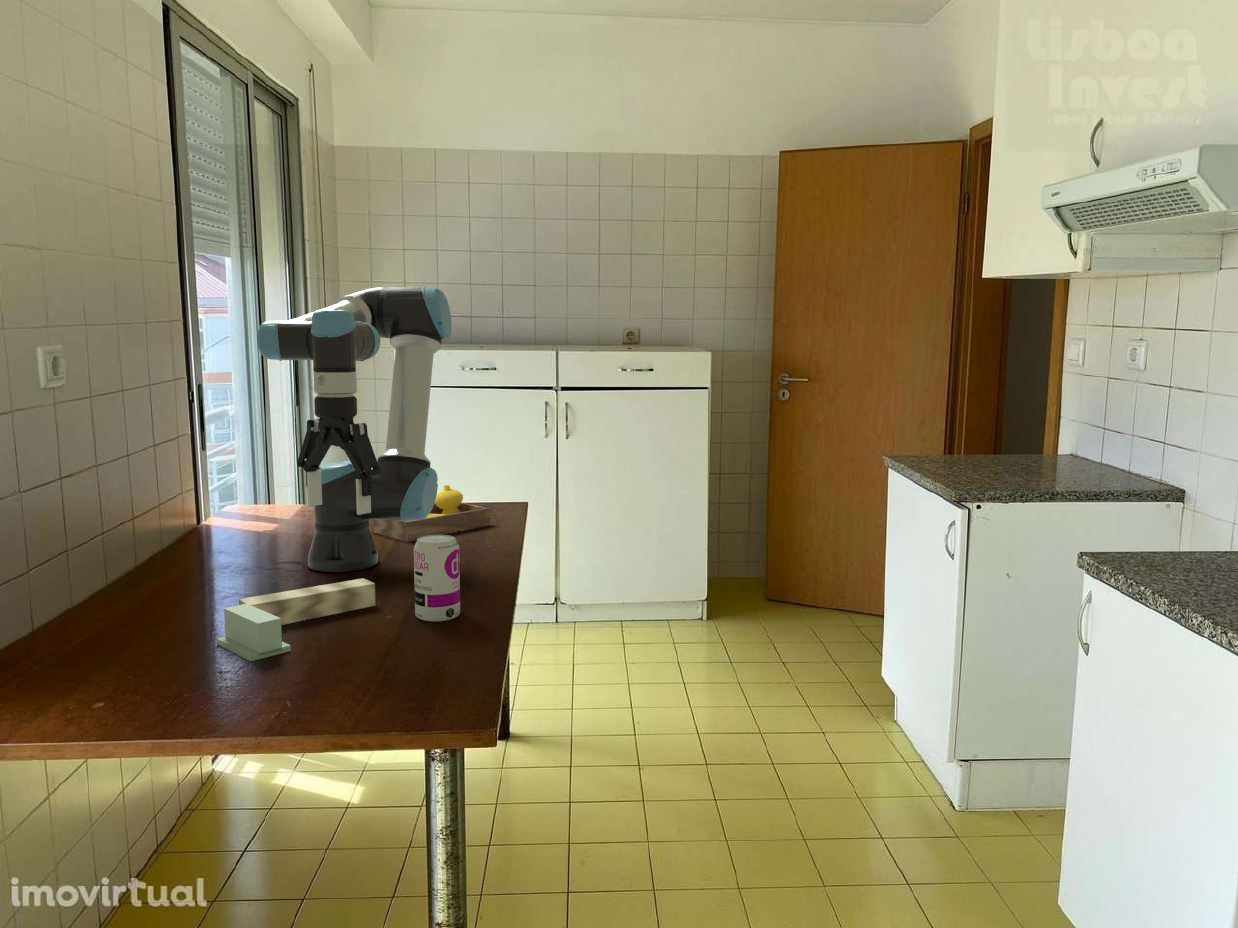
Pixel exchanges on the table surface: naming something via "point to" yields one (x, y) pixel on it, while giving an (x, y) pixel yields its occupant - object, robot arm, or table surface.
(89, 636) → the table surface
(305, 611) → the beam
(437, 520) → the tray
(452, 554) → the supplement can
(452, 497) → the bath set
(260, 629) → the stepped block
